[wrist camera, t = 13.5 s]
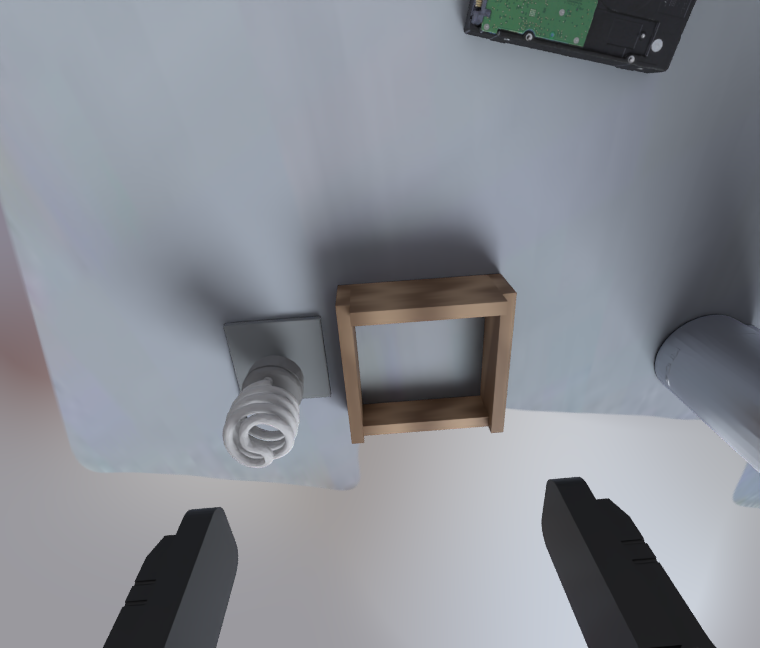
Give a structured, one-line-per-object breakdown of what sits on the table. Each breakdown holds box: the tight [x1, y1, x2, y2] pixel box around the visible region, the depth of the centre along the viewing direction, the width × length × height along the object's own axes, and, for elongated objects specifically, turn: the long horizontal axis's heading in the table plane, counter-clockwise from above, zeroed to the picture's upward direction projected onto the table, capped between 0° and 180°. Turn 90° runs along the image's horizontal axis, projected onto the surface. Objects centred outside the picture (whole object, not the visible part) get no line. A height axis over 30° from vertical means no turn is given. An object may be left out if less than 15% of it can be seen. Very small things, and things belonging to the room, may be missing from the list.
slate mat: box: [223, 316, 331, 399], centre depth 42 cm, size 9×9×1 cm
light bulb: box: [223, 355, 304, 468], centre depth 36 cm, size 6×6×12 cm
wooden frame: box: [335, 274, 517, 444], centre depth 40 cm, size 15×15×6 cm
